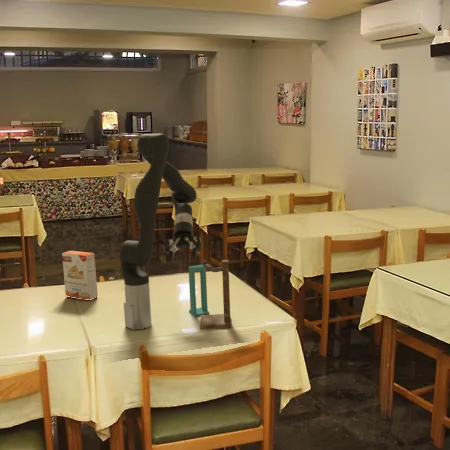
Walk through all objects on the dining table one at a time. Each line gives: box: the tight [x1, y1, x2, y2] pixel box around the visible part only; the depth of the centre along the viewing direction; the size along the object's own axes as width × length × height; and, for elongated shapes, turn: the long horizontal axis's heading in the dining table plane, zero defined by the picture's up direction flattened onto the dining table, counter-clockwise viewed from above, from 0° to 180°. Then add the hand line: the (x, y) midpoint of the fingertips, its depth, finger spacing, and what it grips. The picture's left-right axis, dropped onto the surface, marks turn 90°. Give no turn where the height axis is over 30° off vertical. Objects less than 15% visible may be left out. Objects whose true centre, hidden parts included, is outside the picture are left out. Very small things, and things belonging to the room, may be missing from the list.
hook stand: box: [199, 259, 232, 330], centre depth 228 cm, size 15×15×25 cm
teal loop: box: [188, 264, 210, 318], centre depth 241 cm, size 6×7×20 cm
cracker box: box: [61, 250, 99, 300], centre depth 267 cm, size 14×6×21 cm, turn 62°
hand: (183, 259), depth 235 cm, fingers open, 8 cm apart
